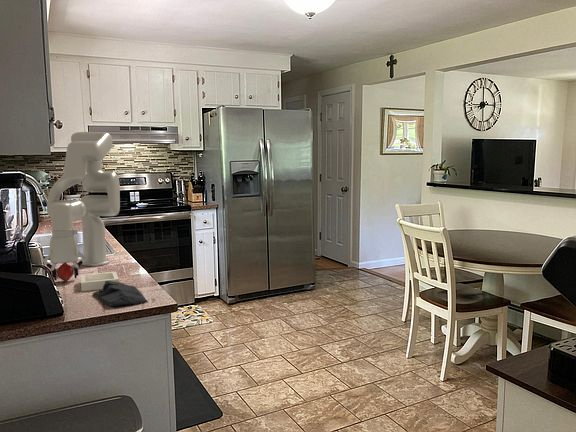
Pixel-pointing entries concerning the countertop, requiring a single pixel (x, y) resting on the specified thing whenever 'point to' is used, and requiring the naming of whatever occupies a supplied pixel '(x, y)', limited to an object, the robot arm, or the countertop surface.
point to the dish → (97, 280)
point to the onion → (65, 272)
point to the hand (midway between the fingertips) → (65, 278)
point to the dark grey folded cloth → (119, 294)
